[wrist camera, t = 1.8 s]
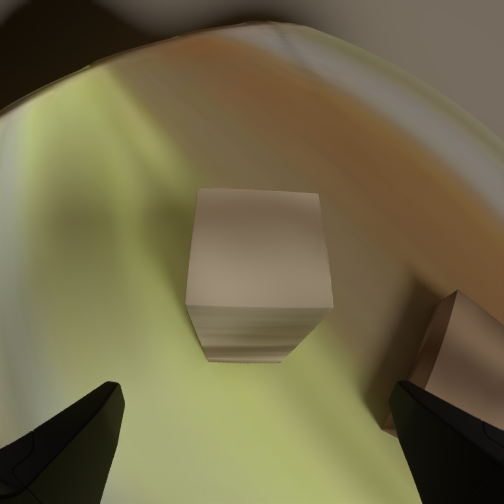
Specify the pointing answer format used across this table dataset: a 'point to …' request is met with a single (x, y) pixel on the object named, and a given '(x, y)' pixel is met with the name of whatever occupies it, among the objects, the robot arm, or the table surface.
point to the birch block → (256, 273)
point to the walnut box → (462, 360)
